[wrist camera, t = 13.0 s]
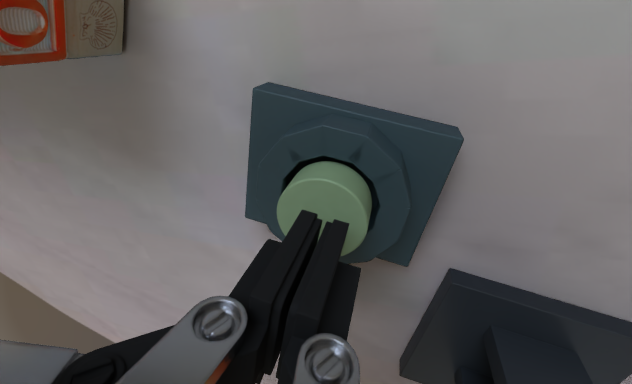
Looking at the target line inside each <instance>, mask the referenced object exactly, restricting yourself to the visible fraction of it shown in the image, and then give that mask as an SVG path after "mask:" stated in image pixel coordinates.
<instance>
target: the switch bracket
mask: <svg viewBox="0 0 632 384" xmlns="http://www.w3.org/2000/svg"><path fill="white" fill-rule="evenodd" d="M631 374H632V323H631V322H628V321H625V320H621V319H618V318H615V317H611V316H608V315H605V314H601V313H598V312H595V311H591V310H588V309H585V308H581V307H578V306H575V305H571V304H568V303H565V302H561V301H558V300H555V299H551V298H548V297H545V296H541V295H538V294H535V293H531V292H528V291H525V290H521V289H518V288H515V287H511V286H508V285H505V284H501V283H498V282H495V281H491V280H488V279H485V278H481V277H478V276H475V275H471V274H468V273H465V272H461V271H458V270H455V269H451V268H450V269H449V270H448V272H447V274H446V276H445V278H444V280H443V281H442V283H441V285H440V287H439V289H438V291H437V292H436V294H435V296H434V298H433V300H432V302H431V304H430V305H429V307H428V309H427V311H426V313H425V315H424V316H423V318H422V320H421V322H420V324H419V326H418V327H417V329H416V331H415V333H414V335H413V337H412V338H411V340H410V342H409V344H408V346H407V348H406V349H405V351H404V353H403V355H402V357H401V359H400V376H402V377H405V378H407V379H410V380H413V381H416V382H419V383H421V384H619V383H621V382H622V381H623V380H625V379H626V378H627V377H628V376H630V375H631Z"/></svg>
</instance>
